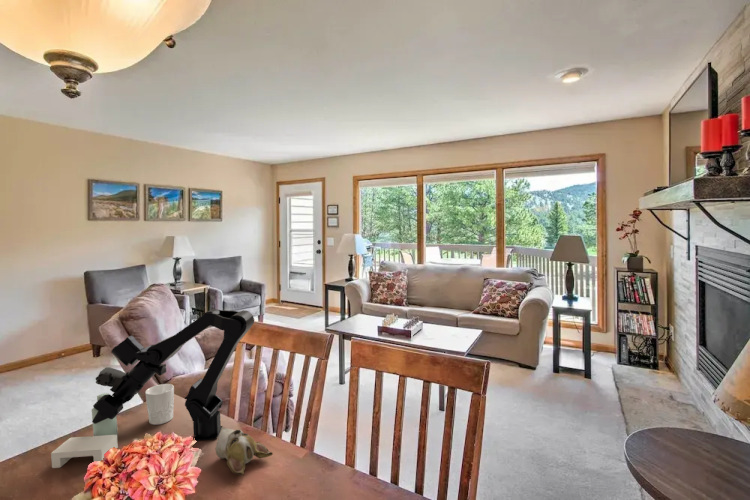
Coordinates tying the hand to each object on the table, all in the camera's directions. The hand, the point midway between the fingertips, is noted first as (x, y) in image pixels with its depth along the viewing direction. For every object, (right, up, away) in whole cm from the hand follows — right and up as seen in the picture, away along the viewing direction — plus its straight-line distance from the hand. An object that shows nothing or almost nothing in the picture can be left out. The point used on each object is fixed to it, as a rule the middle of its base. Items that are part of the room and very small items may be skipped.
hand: (99, 417), depth 107 cm
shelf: (+2, -7, -8) cm, 11 cm away
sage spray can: (+2, -7, +1) cm, 7 cm away
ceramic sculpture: (+44, -7, -10) cm, 46 cm away
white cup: (+11, -6, +12) cm, 17 cm away
